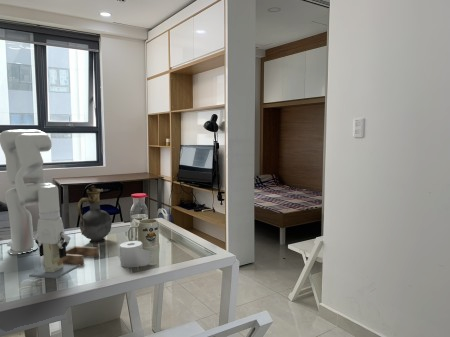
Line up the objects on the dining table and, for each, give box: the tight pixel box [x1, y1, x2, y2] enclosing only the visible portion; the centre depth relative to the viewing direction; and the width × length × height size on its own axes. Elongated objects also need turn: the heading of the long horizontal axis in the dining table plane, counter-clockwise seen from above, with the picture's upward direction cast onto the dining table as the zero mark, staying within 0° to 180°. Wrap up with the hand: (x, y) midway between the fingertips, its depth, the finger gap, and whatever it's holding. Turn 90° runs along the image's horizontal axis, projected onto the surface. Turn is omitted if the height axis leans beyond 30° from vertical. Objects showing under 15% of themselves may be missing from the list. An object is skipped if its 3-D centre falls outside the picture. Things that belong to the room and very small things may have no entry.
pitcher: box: [77, 185, 112, 245], centre depth 183 cm, size 11×19×30 cm, turn 157°
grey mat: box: [28, 264, 79, 280], centre depth 145 cm, size 13×13×1 cm
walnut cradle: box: [63, 245, 100, 266], centre depth 158 cm, size 13×12×4 cm
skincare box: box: [43, 243, 63, 272], centre depth 145 cm, size 6×4×12 cm
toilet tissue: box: [119, 240, 153, 269], centre depth 151 cm, size 9×13×9 cm
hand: (53, 256), depth 145 cm, fingers open, 9 cm apart
